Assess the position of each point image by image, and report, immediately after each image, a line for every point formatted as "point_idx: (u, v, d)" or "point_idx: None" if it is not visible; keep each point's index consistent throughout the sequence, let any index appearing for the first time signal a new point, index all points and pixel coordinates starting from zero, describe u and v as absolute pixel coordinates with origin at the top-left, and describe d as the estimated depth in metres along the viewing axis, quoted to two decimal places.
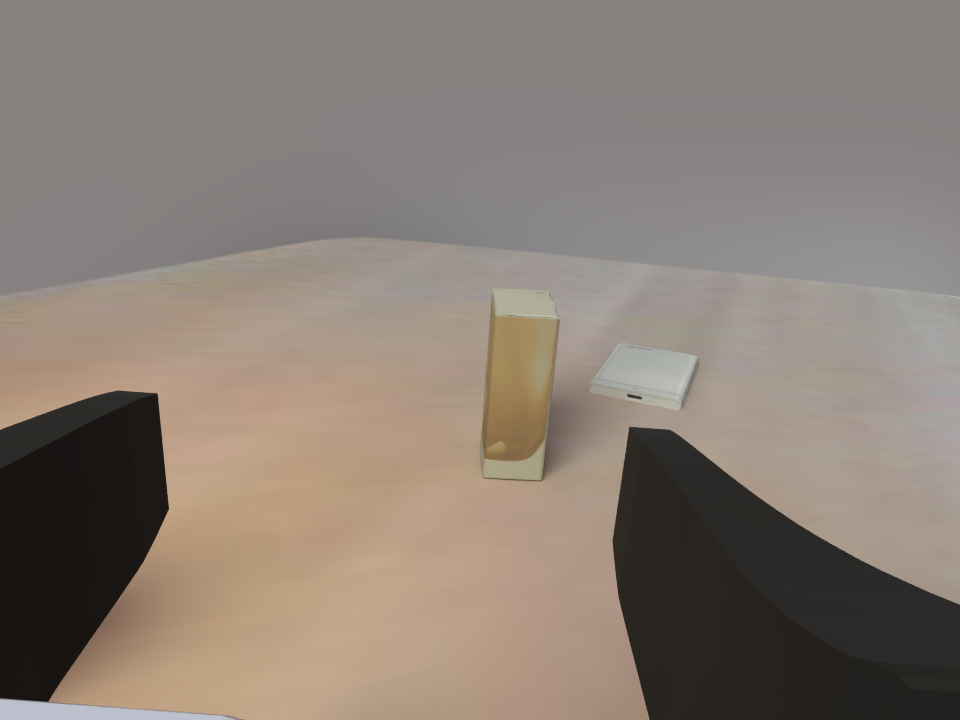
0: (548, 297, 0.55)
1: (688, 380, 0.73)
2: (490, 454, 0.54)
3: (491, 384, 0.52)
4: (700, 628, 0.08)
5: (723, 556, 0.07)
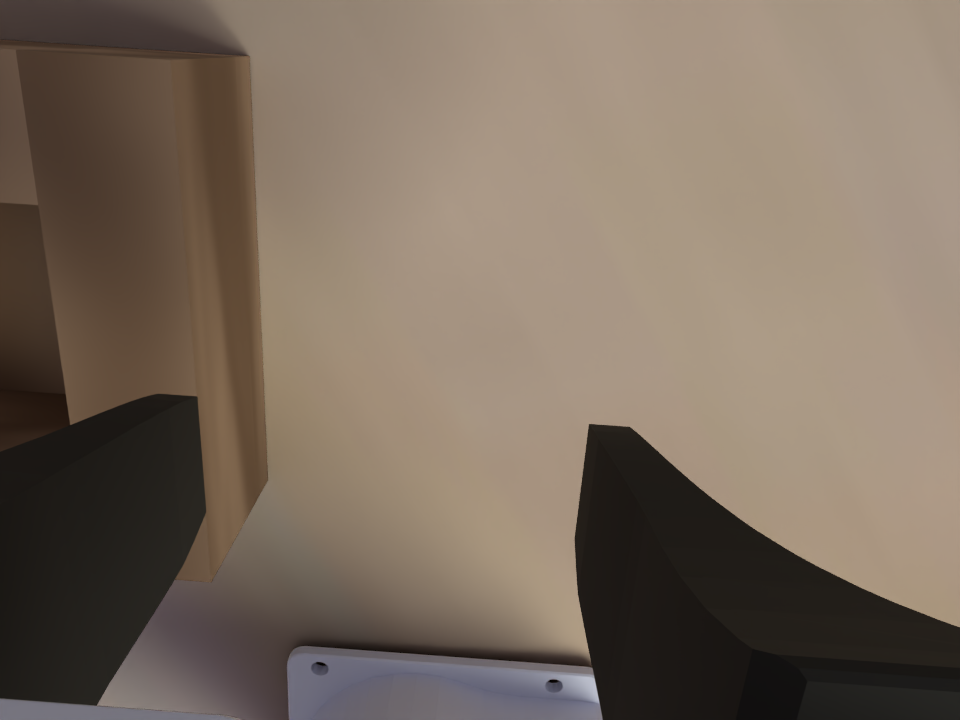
0: None
1: None
2: None
3: None
4: (641, 624, 0.08)
5: (660, 551, 0.08)
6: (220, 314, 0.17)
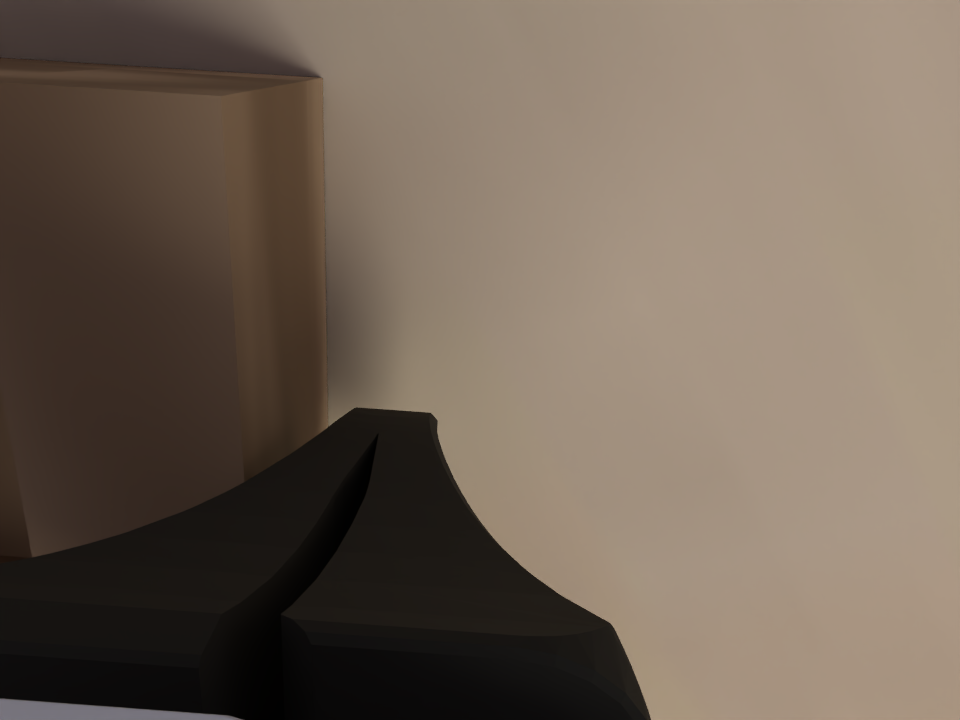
0: None
1: None
2: None
3: None
4: None
5: (351, 529, 0.08)
6: None
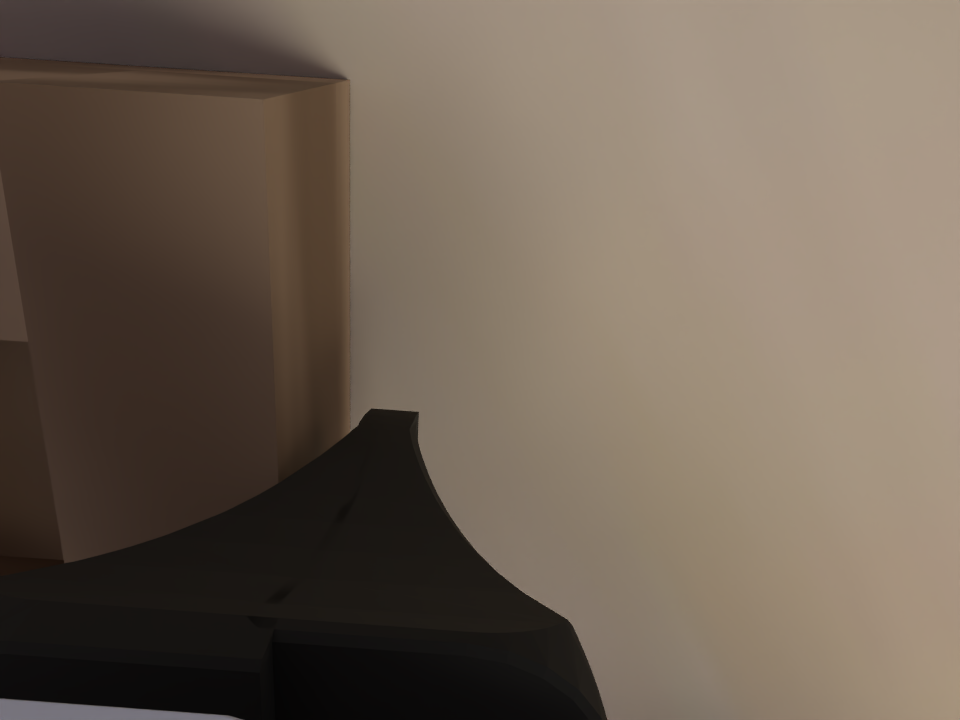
0: None
1: None
2: None
3: None
4: None
5: (321, 527, 0.08)
6: None
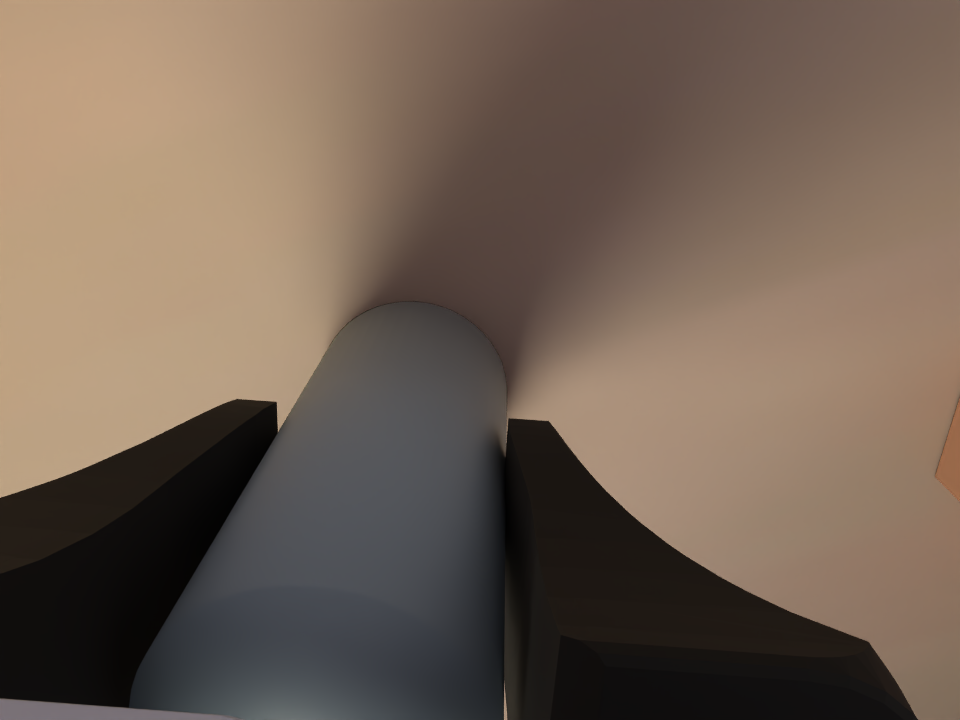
0: None
1: None
2: None
3: None
4: (525, 615, 0.08)
5: (534, 542, 0.08)
6: None
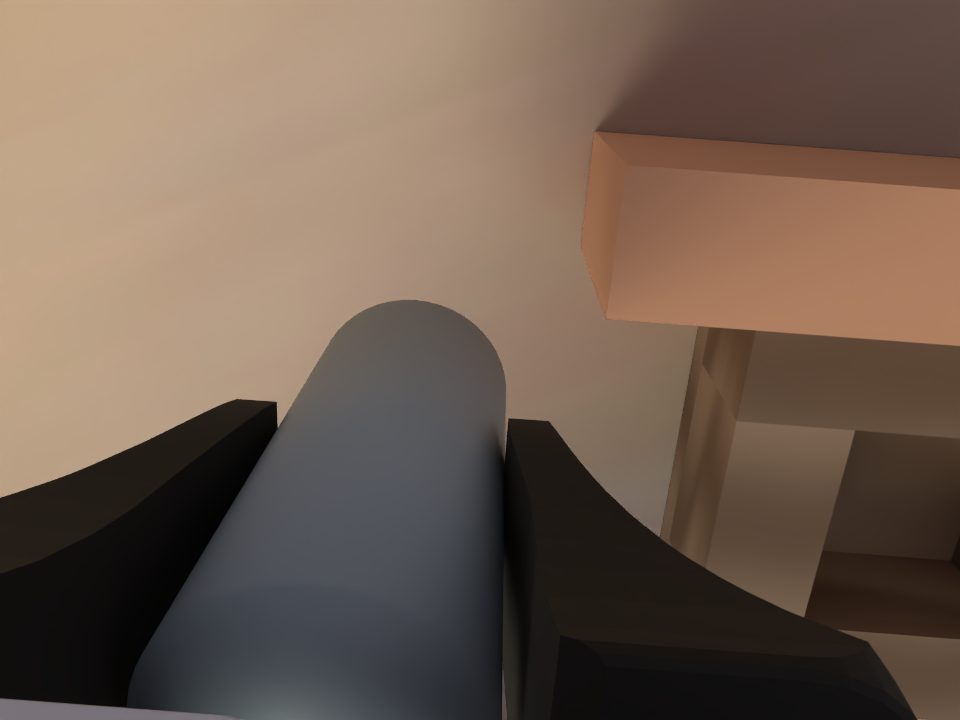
0: None
1: None
2: None
3: None
4: (525, 615, 0.08)
5: (535, 542, 0.08)
6: None
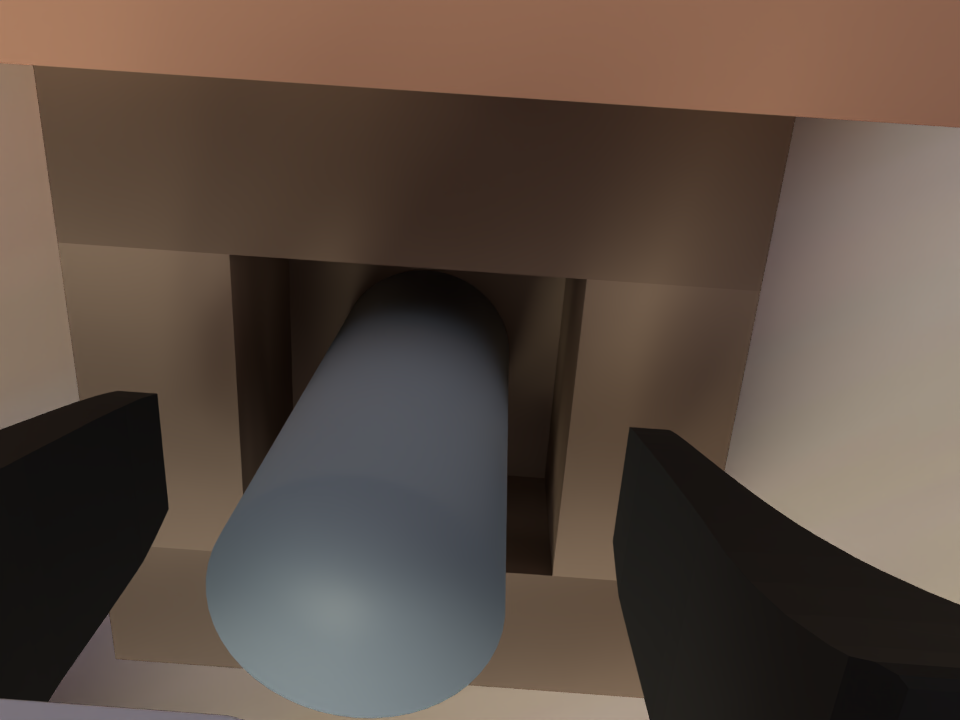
0: None
1: None
2: None
3: None
4: (700, 628, 0.08)
5: (723, 556, 0.07)
6: None
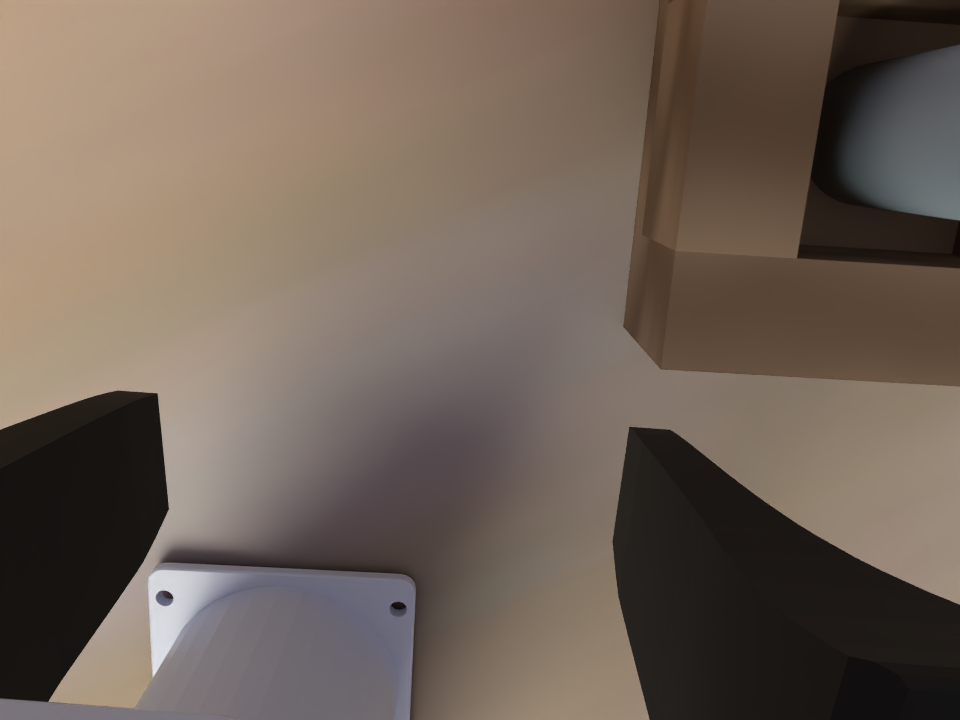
0: None
1: None
2: None
3: None
4: (700, 628, 0.08)
5: (723, 556, 0.07)
6: None
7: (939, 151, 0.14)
